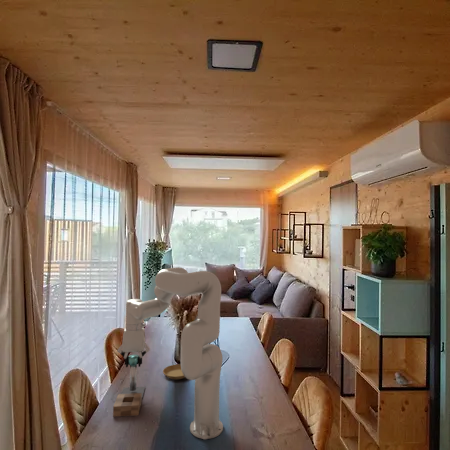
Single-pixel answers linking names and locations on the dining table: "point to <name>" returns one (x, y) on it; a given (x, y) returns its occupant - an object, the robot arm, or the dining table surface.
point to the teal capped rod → (133, 370)
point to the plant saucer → (174, 372)
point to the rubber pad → (138, 390)
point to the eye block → (127, 404)
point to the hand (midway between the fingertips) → (133, 365)
